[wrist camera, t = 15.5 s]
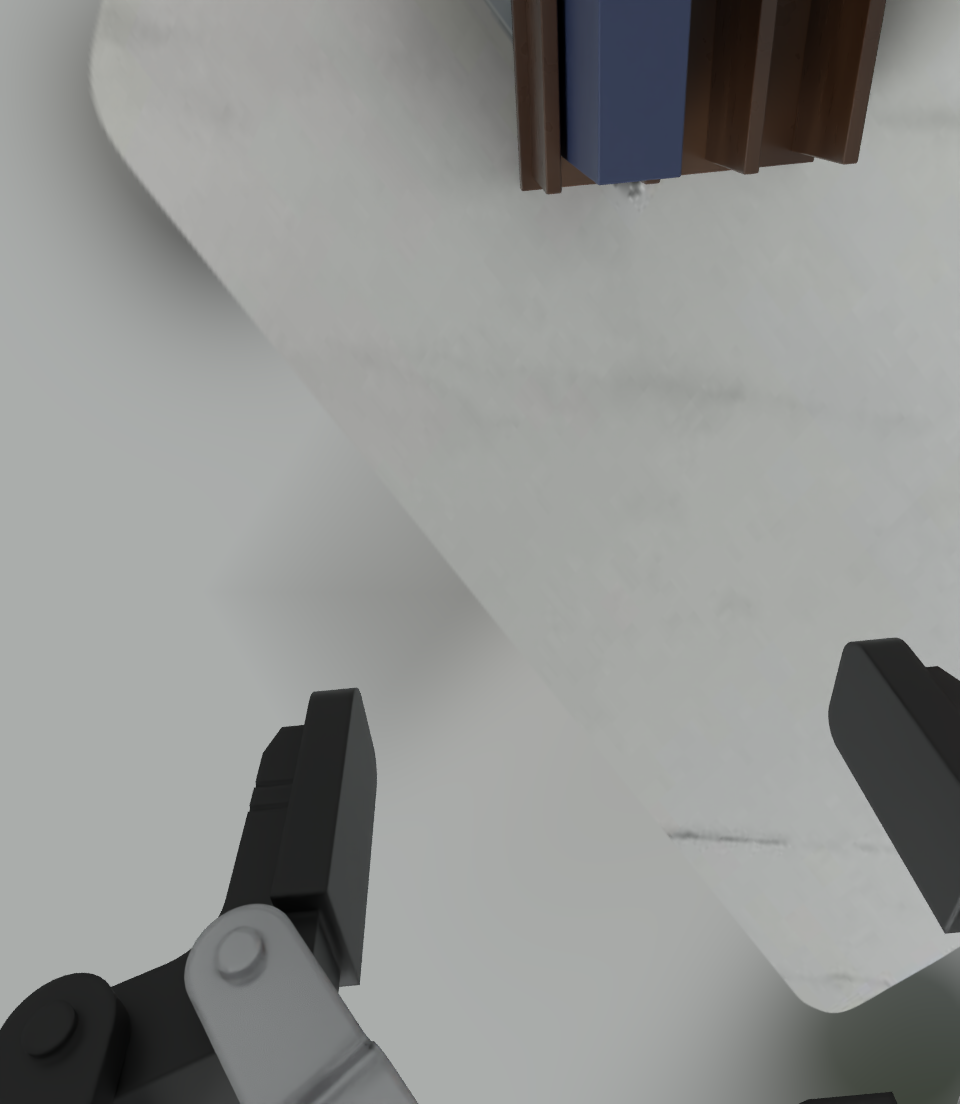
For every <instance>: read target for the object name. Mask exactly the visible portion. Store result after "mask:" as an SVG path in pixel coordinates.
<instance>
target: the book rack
mask: <svg viewBox="0 0 960 1104" xmlns="http://www.w3.org/2000/svg"><path fill="white" fill-rule="evenodd" d="M885 4H886V0H692V1H691V18H690V35H689V52H688V68H687V85H686V102H685V119H684V136H683V152H682V169H681V175H687V174H697V173H707V172H717V171H727V170H734V171H737V172H739V173H742V174H755V173H758V172H759V167H766V166H776V165H786V164H796V163H806V162H813V161H814V157H816V158H820V159H824V160H828V161H832V162H836V163H840V164H854V163H857V162H858V157H859V151H860V145H861V140H862V134H863V128H864V123H865V117H866V111H867V106H868V100H869V95H870V89H871V83H872V78H873V72H874V66H875V61H876V55H877V49H878V44H879V38H880V33H881V27H882V21H883V16H884V10H885ZM511 10H512V30H513V51H514V71H515V91H516V111H517V131H518V151H519V171H520V188H521V190H522V191H529V190H539V189H543V190H544V191H545V193H546V194H557V193H561V191H562V187H569V186H578V185H588V184H597V183H595V182H594V181H593V180H591V179H590V178H589V177H588V176H586V175H585V174H584V173H582V172H581V171H580V170H578V169H577V168H576V167H575V166H573V165H572V164H571V163H569V162H568V161H567V160H565V159H564V158H563V157H562V156H561V138H560V91H559V45H558V0H511ZM641 182H643V183H644V184H656V183H659V182H660V179H656V180H646V181H641Z"/></svg>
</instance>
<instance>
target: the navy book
mask: <svg viewBox="0 0 960 1104" xmlns="http://www.w3.org/2000/svg"><path fill="white" fill-rule="evenodd" d="M691 1H692V0H558V45H559V91H560V138H561V156H562V157H563V158H564V159H565V160H567V161H568V162H569V163H571V164H572V165H573V166H575V167H576V168H577V169H578V170H580V171H581V172H582V173H584V174H585V175H586V176H588V177H589V178H590V179H591V180H593V181H594V182H595V183H597V184H598V185H606V184H616V183H626V182H636V181H646V180H656V179H665V178H675V177H680V176H681V169H682V152H683V136H684V119H685V102H686V85H687V68H688V52H689V35H690V18H691Z"/></svg>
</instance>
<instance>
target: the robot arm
mask: <svg viewBox="0 0 960 1104" xmlns="http://www.w3.org/2000/svg"><path fill="white" fill-rule="evenodd" d="M828 719H829V726H830V731H831V734H832V737H833V740H834V742H835V745H836V747H837V748H838V750H839V752H840V754H841V755H842V757H843V759H844V760H845V762H846V764H847V766H848V767H849V769H850V771H851V772H852V774H853V776H854V778H855V779H856V781H857V783H858V785H859V786H860V788H861V790H862V791H863V793H864V795H865V797H866V798H867V800H868V802H869V803H870V805H871V807H872V809H873V810H874V812H875V814H876V816H877V817H878V819H879V821H880V822H881V824H882V826H883V828H884V829H885V831H886V833H887V834H888V836H889V838H890V840H891V841H892V843H893V845H894V847H895V848H896V850H897V852H898V853H899V855H900V857H901V859H902V860H903V862H904V864H905V865H906V867H907V869H908V871H909V872H910V874H911V876H912V877H913V879H914V881H915V883H916V884H917V886H918V888H919V890H920V891H921V893H922V895H923V896H924V898H925V900H926V902H927V903H928V905H929V907H930V908H931V910H932V912H933V914H934V915H935V917H936V919H937V921H938V922H939V924H940V926H941V927H942V929H943V931H944V933H956V932H960V681H959V680H958V679H956V678H955V677H953V676H952V675H950V674H949V673H947V672H946V671H944V670H943V669H941V668H940V667H938V666H935V667H925V666H924V665H923V663H922V662H921V661H920V660H919V658H918V657H917V656H916V655H915V653H914V652H913V651H912V650H911V649H910V647H909V646H908V645H907V644H906V643H905V642H904V641H903V640H901V639H899V638H886V639H876V640H865V641H855V642H849V643H847V644H846V646H845V647H844V649H843V652H842V656H841V660H840V664H839V668H838V672H837V676H836V680H835V685H834V689H833V693H832V697H831V701H830V705H829V711H828ZM376 787H377V771H376V758H375V752H374V747H373V742H372V739H371V735H370V730H369V726H368V722H367V718H366V714H365V709H364V706H363V701H362V697H361V693H360V691H359V689H358V688H349V689H338V690H328V691H317V692H313V693H312V694H311V696H310V700H309V705H308V709H307V714H306V720H305V724H304V725H299V726H289V727H282V728H281V729H280V730H279V732H278V733H277V735H276V736H275V737H274V739H273V740H272V741H271V743H270V744H269V746H268V747H267V748H266V750H265V751H264V752H263V755H262V759H261V763H260V767H259V770H258V774H257V779H256V788H254V791H253V794H252V798H251V802H250V812H248V814H247V818H246V822H245V826H244V829H243V834H242V838H241V841H240V845H239V849H238V853H237V857H236V861H235V865H234V869H233V873H232V877H231V881H230V885H229V889H228V892H227V896H226V900H225V903H224V906H223V909H222V911H221V913H220V915H219V917H218V918H217V919H216V920H215V921H213V922H212V923H211V924H210V925H209V926H208V927H207V928H206V929H205V930H204V931H203V932H202V933H201V935H200V936H199V937H198V939H197V940H196V942H195V944H194V945H193V947H192V948H191V949H190V950H189V951H188V952H186V953H185V954H183V955H182V956H180V957H179V958H177V959H175V960H173V961H171V962H169V963H167V964H165V965H163V966H160V967H158V968H155V969H153V970H151V971H148V972H146V973H144V974H141V975H139V976H136V977H134V978H131V979H129V980H127V981H124V982H122V983H120V984H117V985H115V986H112V987H110V986H109V984H108V983H107V982H106V981H105V980H103V979H102V978H101V977H99V976H96V975H94V974H89V973H74V974H70V975H65V976H63V977H60V978H57V979H55V980H53V981H51V982H49V983H47V984H45V985H43V986H42V987H40V988H39V989H37V990H36V991H35V992H33V993H32V994H31V995H30V996H28V997H27V998H26V999H25V1000H24V1001H23V1002H22V1003H21V1004H20V1005H19V1006H18V1007H17V1008H16V1009H15V1010H14V1011H13V1012H12V1014H11V1015H10V1016H9V1017H8V1019H7V1020H6V1022H5V1023H4V1025H3V1026H2V1028H1V1030H0V1104H418V1103H417V1101H416V1099H415V1098H414V1096H413V1095H412V1094H411V1092H410V1090H409V1089H408V1088H407V1086H406V1084H405V1083H404V1081H403V1080H402V1078H401V1077H400V1075H399V1074H398V1072H397V1071H396V1069H395V1068H394V1066H393V1065H392V1063H391V1062H390V1061H389V1059H388V1058H387V1056H386V1055H385V1053H384V1052H383V1051H382V1050H381V1048H380V1047H379V1046H378V1045H377V1044H376V1043H375V1042H374V1041H370V1039H369V1038H368V1037H367V1036H366V1034H365V1033H364V1032H363V1030H362V1029H361V1027H360V1026H359V1024H358V1023H357V1021H356V1020H355V1018H354V1017H353V1015H352V1014H351V1012H350V1011H349V1009H348V1007H347V1006H346V1004H345V1003H344V1001H343V1000H342V998H341V997H340V995H339V994H338V991H339V987H342V986H352V985H360V974H361V963H362V950H363V939H364V928H365V915H366V905H367V893H368V881H369V870H370V858H371V846H372V835H373V822H374V811H375V799H376ZM800 1104H897V1102H896V1100H895V1097H894V1095H893V1093H892V1092H886V1093H875V1094H864V1095H854V1096H842V1097H832V1098H821V1099H809V1100H806V1101H804V1102H802V1103H800ZM957 1104H960V1098H959V1100H958V1103H957Z"/></svg>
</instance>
